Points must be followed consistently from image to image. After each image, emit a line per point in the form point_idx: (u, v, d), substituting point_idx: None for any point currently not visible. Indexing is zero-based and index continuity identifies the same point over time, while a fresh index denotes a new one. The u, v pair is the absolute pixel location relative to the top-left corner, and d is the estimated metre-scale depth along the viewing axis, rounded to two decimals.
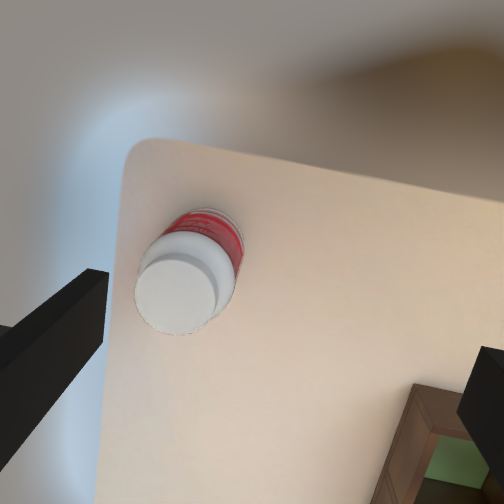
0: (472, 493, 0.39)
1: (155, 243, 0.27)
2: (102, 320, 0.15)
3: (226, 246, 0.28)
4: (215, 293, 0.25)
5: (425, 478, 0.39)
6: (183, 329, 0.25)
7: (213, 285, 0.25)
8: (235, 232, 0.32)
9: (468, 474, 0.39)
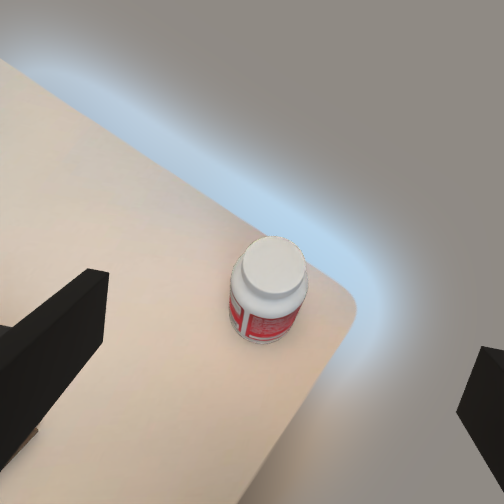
0: None
1: (306, 274, 0.35)
2: (102, 320, 0.15)
3: (276, 322, 0.35)
4: (264, 292, 0.31)
5: None
6: (248, 257, 0.32)
7: (270, 294, 0.31)
8: (268, 337, 0.39)
9: None
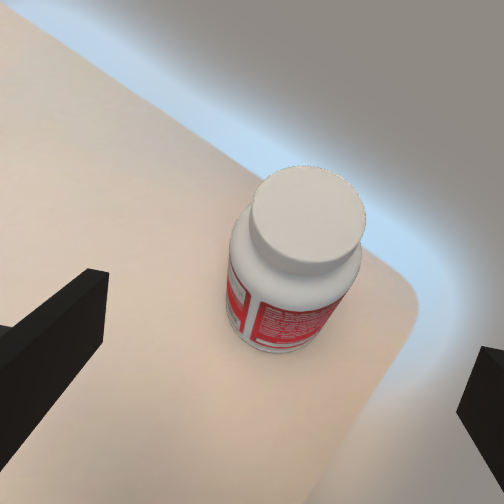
0: None
1: None
2: (102, 320, 0.15)
3: (305, 318, 0.20)
4: (290, 261, 0.17)
5: None
6: (263, 198, 0.18)
7: (302, 264, 0.17)
8: (287, 344, 0.24)
9: None
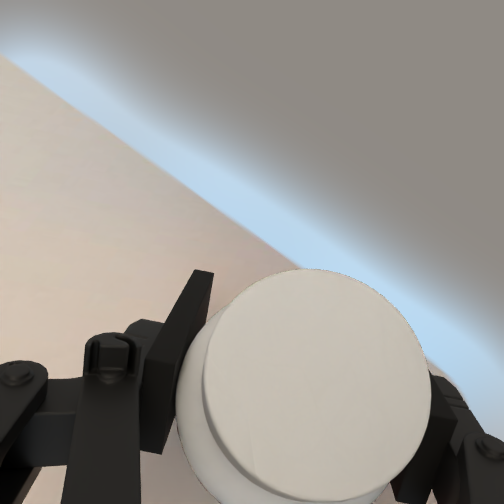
0: None
1: None
2: (206, 316, 0.17)
3: None
4: (280, 493, 0.08)
5: None
6: (227, 345, 0.09)
7: (305, 501, 0.08)
8: None
9: None
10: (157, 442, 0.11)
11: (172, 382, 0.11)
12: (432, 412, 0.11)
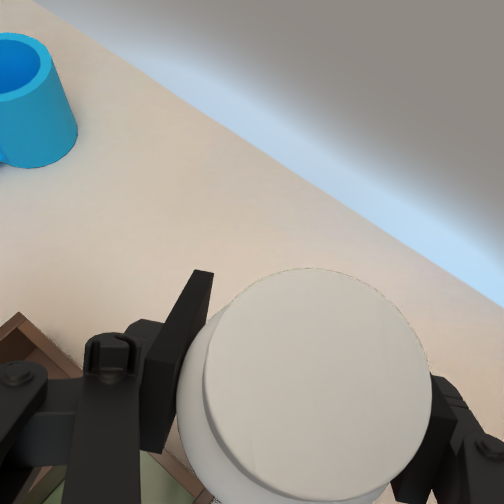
0: (38, 503, 0.28)
1: None
2: (206, 316, 0.17)
3: None
4: (281, 492, 0.08)
5: None
6: (227, 344, 0.09)
7: (306, 499, 0.08)
8: None
9: None
10: (157, 441, 0.11)
11: (172, 382, 0.11)
12: (432, 412, 0.11)
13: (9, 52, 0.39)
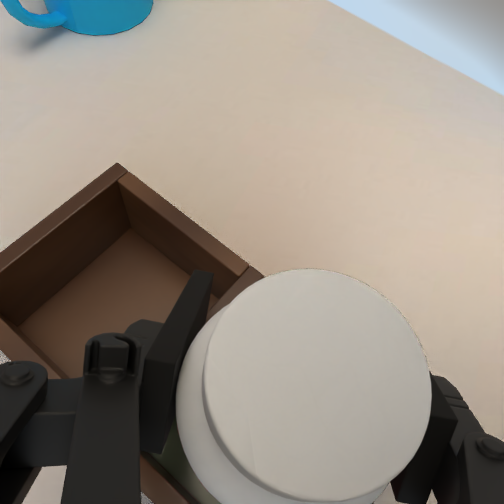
0: None
1: None
2: (206, 316, 0.17)
3: None
4: (280, 492, 0.08)
5: None
6: (227, 345, 0.09)
7: (305, 500, 0.08)
8: None
9: None
10: (157, 441, 0.11)
11: (172, 382, 0.11)
12: (432, 412, 0.11)
13: None
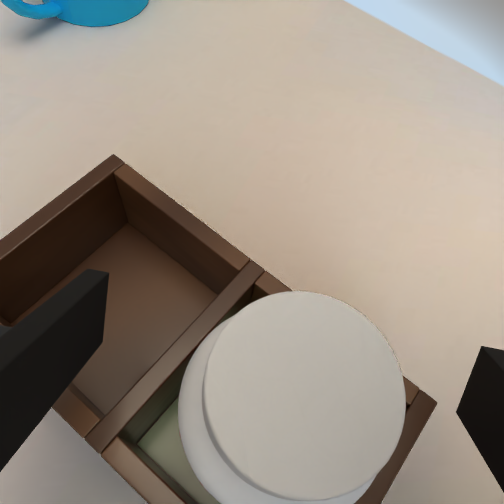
0: (150, 422, 0.19)
1: None
2: (102, 320, 0.15)
3: None
4: (271, 492, 0.09)
5: None
6: (224, 361, 0.10)
7: (293, 499, 0.09)
8: None
9: None
10: None
11: None
12: None
13: None
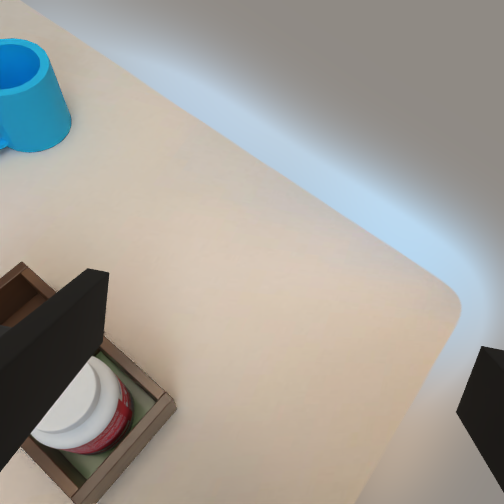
0: None
1: (115, 392, 0.30)
2: (102, 320, 0.15)
3: (75, 449, 0.29)
4: (36, 429, 0.26)
5: None
6: None
7: (44, 431, 0.26)
8: (87, 453, 0.33)
9: None
10: None
11: None
12: None
13: (14, 54, 0.46)
